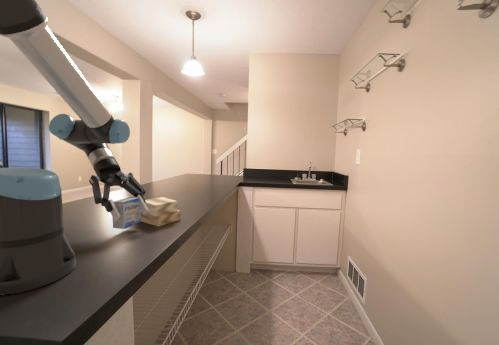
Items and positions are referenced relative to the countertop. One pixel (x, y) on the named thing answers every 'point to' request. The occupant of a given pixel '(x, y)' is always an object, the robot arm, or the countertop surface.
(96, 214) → the countertop surface
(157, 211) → the tower top slab
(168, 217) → the tower bottom slab
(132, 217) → the medicine box
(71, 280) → the countertop surface
